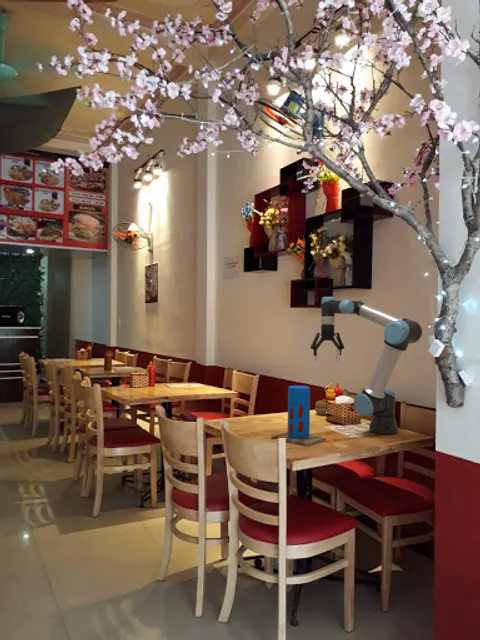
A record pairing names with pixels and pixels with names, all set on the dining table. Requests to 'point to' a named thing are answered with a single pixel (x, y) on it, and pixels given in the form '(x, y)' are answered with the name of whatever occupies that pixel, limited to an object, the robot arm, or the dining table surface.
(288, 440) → the serving board
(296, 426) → the thermos
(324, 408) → the pot
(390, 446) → the dining table surface
